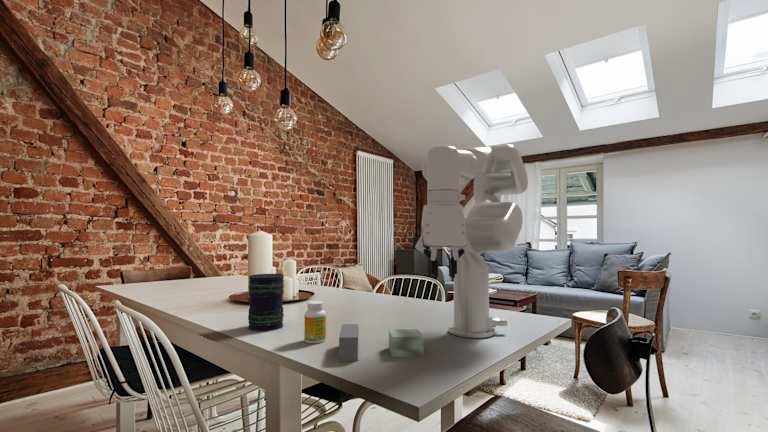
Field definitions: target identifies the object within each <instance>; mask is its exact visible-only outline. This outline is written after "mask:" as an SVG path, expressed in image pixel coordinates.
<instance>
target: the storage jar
mask: <svg viewBox="0 0 768 432" xmlns="http://www.w3.org/2000/svg"><path fill="white" fill-rule="evenodd" d="M248 278H249V281H248V297H249V309H248V316H247V320H248V328H247V329H248V330H249V331H252V332H271V331H276V330H277V331H278V330H279V329H283V327H284V323H283V322H284V307H283V299H284V297H283V295H284V292H285V291H284V288H285V283H284V278H285V275H284V274H283V273H257V274H251V275H249V277H248Z"/></svg>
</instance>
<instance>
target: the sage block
mask: <svg viewBox="0 0 768 432" xmlns="http://www.w3.org/2000/svg"><path fill="white" fill-rule="evenodd" d="M388 349H389V352H390V354H391V357H392V358H399V357H400V358H403V357H424V336H423V334H422V332H421V331H420V330H419V328H404V329H403V328H396V329H394V328H392V329H388Z"/></svg>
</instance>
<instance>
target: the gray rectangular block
mask: <svg viewBox="0 0 768 432" xmlns="http://www.w3.org/2000/svg"><path fill="white" fill-rule="evenodd" d="M358 360H359V323H351V324H349V323H348V324H347V323H345V324H344V323H343V324H342V323H341V327H340V332H339V336H338V361H339V362H358Z"/></svg>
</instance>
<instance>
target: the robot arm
mask: <svg viewBox="0 0 768 432" xmlns="http://www.w3.org/2000/svg"><path fill="white" fill-rule="evenodd" d="M426 155H427V156H425V158H424V160H423V161H422V164H421V173H422V176H423V178H424V179H425V180H426V181H427V182H426V183H427V185H426V187H427V190H426V193H427V196H426V197H427V204H424V205H423V208H422V215H421V217H422V218H421V225H420V226H421V229H420V237H419V238H418V240H417V242H416V244H415V245H414V246H415V248H414V249H416V250H418V251H419V252H421V253H423V254H424V255H425V257H427V258H428V259H429V260H430V264H429V265H430V267H429V268H430V275H432V277H433V278H435V279H438V278H439V261H438V260H437V252H438V248H449V252H450V259H449V260H448V276H449V277H450V278H452V279H453V324H450V325H449V326H448V328H447V329H448V332H449V334H452V335H453V336H457V337H461V338H471V339H485V338H490V337H493V336H494V335H496V329H495V328H496V327H507V326H508V321H507V319H506V318H499V317H492V316H491V315H490V283H489V281H490V275H489V274H490V273H489V266H488V263H487V262H486V261H485V259H484V258H483V256H482V255H481V254H480V253H489V254H490V253H493V254H495V253H496V254H497V253H498V254H499V253H501V254H502V253H508V252H510V251H511V250H513V248H514V246H515V245H516V242H517V240H518V238H519V235H520V233H521V230H522V227H523V217H524V216H523V212H522V208H521V207H520V205H519V204H517V203H516V202H511V201H501V200H500V198H499V197H497V196H507V195H508V196H509V195H520V194H523V193H524V192H526V191H527V189H528V185H529V179H528V173H527V171H526V168H525V165H524V162H523V159H522V156H521V153H520V151H519V150H518V148H517V147H516V146H515V145H513V144H511V143H507V144H497V145H486V146H478V147H477V146H476V147H470V148H464V149H458V148H457V147H455V146H452V145H437V146H433V147H431V148H429V149H428V151H427V154H426ZM473 179H474V180H473ZM471 180H473V196H474V202H475V203H474V204H473V206H471V208H470V210H469V211H468V213H467V215H466V217H465V213H464V208H463V205H462V204H460V203H461V202H462V201H465V200H466V194H463V193H461V191H460V182H466V181H467V182H468V181H471ZM424 246H425V247H424ZM426 247H429V249H428V248H426Z"/></svg>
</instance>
